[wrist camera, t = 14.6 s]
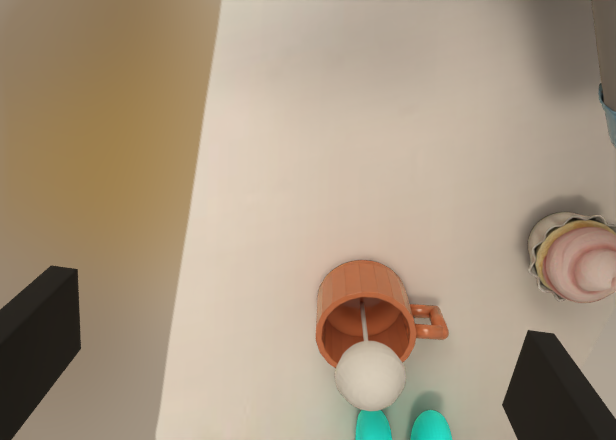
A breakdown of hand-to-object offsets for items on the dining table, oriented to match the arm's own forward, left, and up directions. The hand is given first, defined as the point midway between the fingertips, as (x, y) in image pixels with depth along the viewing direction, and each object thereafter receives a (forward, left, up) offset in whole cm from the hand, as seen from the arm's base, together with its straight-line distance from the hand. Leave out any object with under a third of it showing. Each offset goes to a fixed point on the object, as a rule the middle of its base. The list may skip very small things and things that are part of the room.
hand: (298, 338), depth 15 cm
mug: (+9, +19, -37) cm, 42 cm away
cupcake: (-10, +26, -37) cm, 46 cm away
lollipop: (+10, +18, -36) cm, 42 cm away
